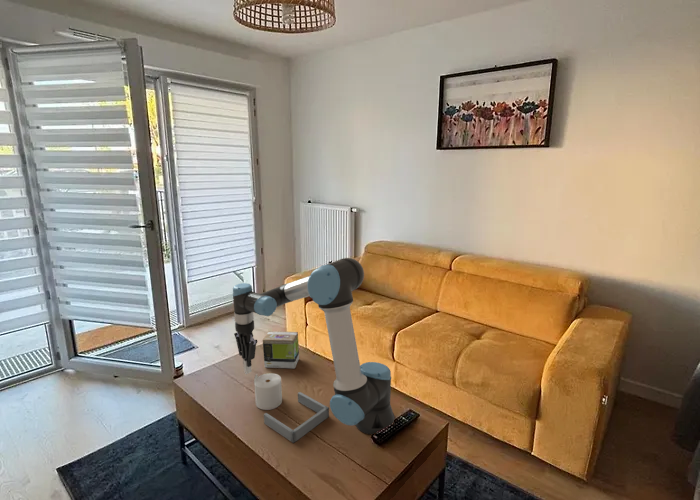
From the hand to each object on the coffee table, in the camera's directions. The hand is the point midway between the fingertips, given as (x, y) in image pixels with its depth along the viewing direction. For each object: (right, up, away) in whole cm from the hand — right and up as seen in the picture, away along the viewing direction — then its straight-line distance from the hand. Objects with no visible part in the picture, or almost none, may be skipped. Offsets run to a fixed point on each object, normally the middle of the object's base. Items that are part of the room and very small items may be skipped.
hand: (247, 372), depth 164 cm
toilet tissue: (+10, -11, -5) cm, 15 cm away
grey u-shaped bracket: (+23, -13, -16) cm, 31 cm away
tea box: (+10, -3, +24) cm, 27 cm away
